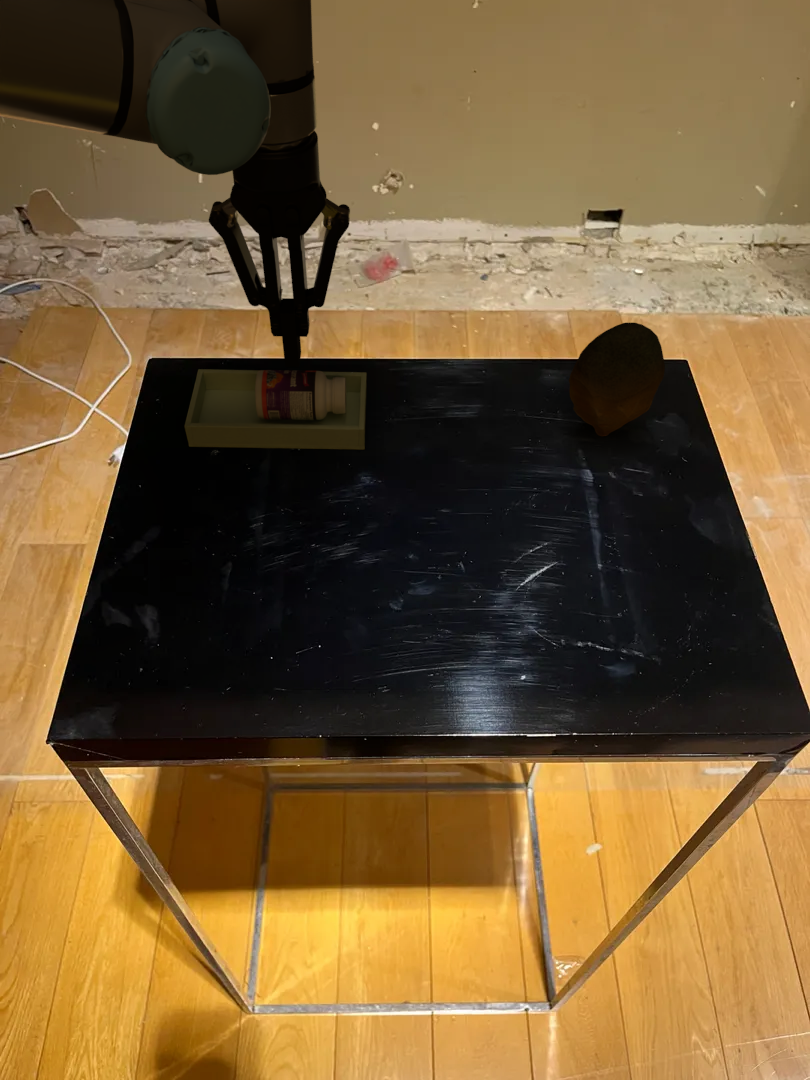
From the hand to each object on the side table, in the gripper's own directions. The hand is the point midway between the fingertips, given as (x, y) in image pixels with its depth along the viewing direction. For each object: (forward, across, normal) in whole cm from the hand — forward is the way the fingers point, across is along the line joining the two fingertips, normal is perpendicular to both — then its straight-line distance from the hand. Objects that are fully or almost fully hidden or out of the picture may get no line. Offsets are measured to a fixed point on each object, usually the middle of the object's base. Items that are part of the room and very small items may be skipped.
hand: (293, 358), depth 87 cm
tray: (+8, +2, 0) cm, 9 cm away
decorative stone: (+9, -34, +2) cm, 35 cm away
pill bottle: (+5, +4, 0) cm, 7 cm away
